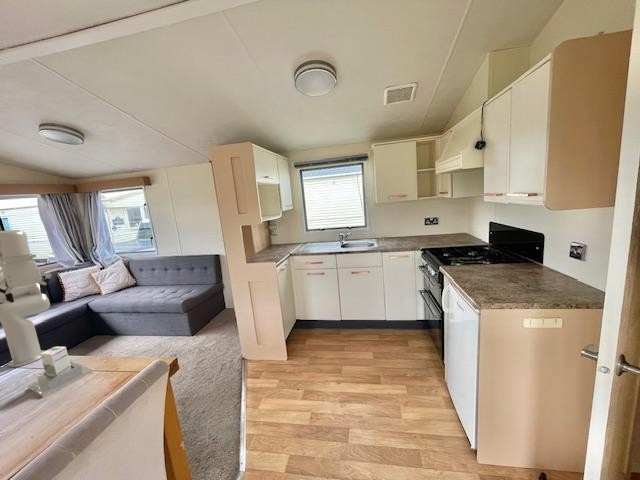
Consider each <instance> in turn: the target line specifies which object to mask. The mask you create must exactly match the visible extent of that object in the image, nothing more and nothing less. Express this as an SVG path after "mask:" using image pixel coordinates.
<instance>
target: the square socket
mask: <svg viewBox="0 0 640 480" xmlns="http://www.w3.org/2000/svg"><path fill="white" fill-rule="evenodd" d="M69 362H70V366H71V369H70V370H68V371H66V372H64V373H62V374H60V375H58V376H56V377H53V378H49V377H48V376H46V373H45V371H44V372H42V373H40V374H38V375H36V378H37V381H36V382H34V383H31V384H29V385H28V386H27V388H28V389H29V390H30V391H32V392H33V393H35V394H36V395H38V396H40V397H41V398H45V397H47V396H49V395H51V394H53V393H55V392H57V391H59V390H61V389H63V388H65V387H66V386H68V385H70V384H73V383H75V382H77V381H79V379H82V378H84V377H86V376H89V374H92V373H93V369H92V368H89V367H87V366H85V365H82V364H81V363H80V364H79V363H76V362H73V361H71V360H69Z"/></svg>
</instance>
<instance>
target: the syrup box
mask: <svg viewBox="0 0 640 480" xmlns="http://www.w3.org/2000/svg"><path fill="white" fill-rule="evenodd" d="M44 351H45V352H43V353H41V354H40V355H41V358H40V359H41V361H42V365H43V369H44V372H45V373H46V376H48V377H49V378H53V377H56V376H58V375H60V374H62V373H64V372H66V371H68V370H70V369H71V366H70V362H69V361H70V358H69V355H68V354H69V353H68V350H67V346H53V347H51V348H49V349H47V350H44Z"/></svg>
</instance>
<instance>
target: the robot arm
mask: <svg viewBox="0 0 640 480" xmlns="http://www.w3.org/2000/svg"><path fill="white" fill-rule="evenodd" d="M29 246H30V245H29V243H28V236H27V234H26V232H25V231H22V230H19V229H11V230H0V267H2V268H1V269H0V324H1V326H2V329H3V331H4V335H5V338H6V343H7V346H8V349H9V352H10V353H9V354H10V357H11V359H12V360H11V361H9V362H8V364H7V365H8V367H9V368H17V367H22V366H26V365H29V364H32V363H34V362H36V361H39V360H40V359H42V358H41V355H40V354H41V353H43V352H45V351H46V350H43V349H42V350H41V346H40V343H39V339H38V338H39V337H38V335H37V334H38V333H37V331H36V328H35V327H36V326H35V324H34V323H33V321H31V320H29V319H26V317H29V316H32V315H36V314H39V313H42V312H44V311H45V312H46V311H47V310H49V308H50V307H51V303H50V299H49V298H48V296H47V292H48V290H47V284H48V283H49V282H50V280H51V278H52V275H53V274H52V273H48V272H46V273H45V272H41V271H40V269H39V266H38V265H37V262H36V261H35V260H33V259H34V258H36V257H37V255H36V254H32V253H31V250H30V247H29ZM43 276H44V277H45V278H44V279H43V278H42V277H43ZM42 279H43V280H42ZM12 361H13V362H12ZM10 362H11V363H10Z"/></svg>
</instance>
